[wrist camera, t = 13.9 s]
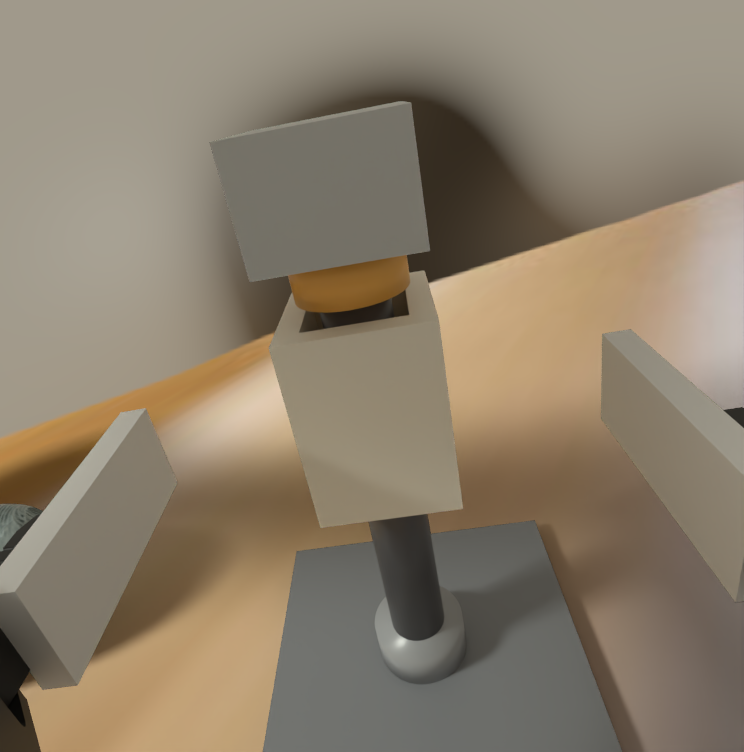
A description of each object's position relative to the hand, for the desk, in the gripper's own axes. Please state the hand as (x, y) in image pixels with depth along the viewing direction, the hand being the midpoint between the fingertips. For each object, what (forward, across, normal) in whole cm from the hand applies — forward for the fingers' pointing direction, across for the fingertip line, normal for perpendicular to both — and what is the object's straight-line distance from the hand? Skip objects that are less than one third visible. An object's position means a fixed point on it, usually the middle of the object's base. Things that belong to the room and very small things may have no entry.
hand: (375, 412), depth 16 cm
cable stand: (+4, 0, -16) cm, 16 cm away
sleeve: (+3, 0, -5) cm, 6 cm away
